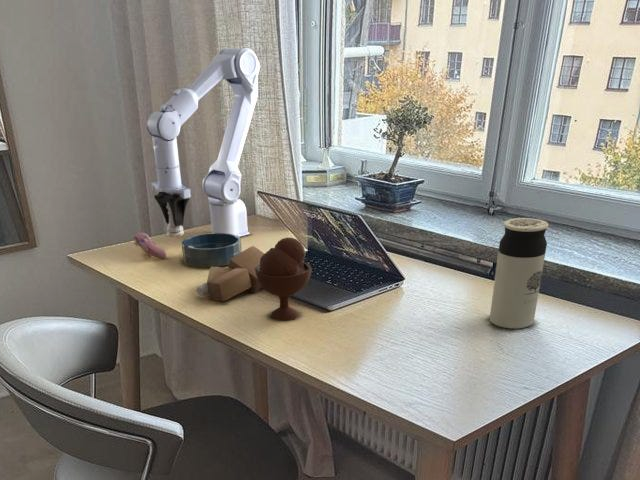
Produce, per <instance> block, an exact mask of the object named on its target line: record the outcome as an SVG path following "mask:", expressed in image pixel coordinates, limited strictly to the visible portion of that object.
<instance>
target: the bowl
mask: <svg viewBox="0 0 640 480" xmlns="http://www.w3.org/2000/svg"><path fill="white" fill-rule="evenodd" d="M181 252H182V260H183V263H185V264H186V265H189V266H192V267H198V268H210V267H224V266H229V261H230V259H231V258H232V257H234V256H236V255H238V254H239V253H241V252H243V249H242V238H241V237H239V236H237V235H234V234H228V233H212V232H209V233H200V234H196V235H191V236H188V237H186V238H184V239H182V241H181Z"/></svg>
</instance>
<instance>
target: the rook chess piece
mask: <svg viewBox="0 0 640 480" xmlns="http://www.w3.org/2000/svg"><path fill="white" fill-rule="evenodd" d="M166 208H167V209H168V214H169V224H167V228H166V231H167V233H166V234H167V235H168V237H171V238H178V237H182V236H184V234H185V231H184V226H183V225H180V226H175V224H174V221H173V216H172V211H171V208H170V206H169V204H168V203H167V206H166Z"/></svg>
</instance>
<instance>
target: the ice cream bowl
mask: <svg viewBox="0 0 640 480" xmlns="http://www.w3.org/2000/svg"><path fill="white" fill-rule="evenodd" d="M305 258H306V251H305V247H304V245H303V244H302V242H301V241H299V240H298V239H296V238H293V237H284V238H281V239H280V240H278V241H277V242H276V244H275V245H274V247H270V248H269V250H267V251H266V252H265V253H264V255H263V256H262V257H261V259H260V265H258V266H257V267H255V272H256V276H257V278H258V281H259V283H260V285H261V286H262V287H263V288H262V289H264V291H266V292H267V293H269V294H271V295H273V296H276V297H278V299H279V306H278V307H277V308H276V309H274V310H273V311H271V313H270V317H271V319H273V320H277V321H291V320H295V319H296V318H297V317H299V313H298V311H297V309H295V308H293V307H291V306H290V303H289V302H290V301H289V299H290V297H291V296H293V295H295V294H297V293H298V292H299V291H300V290H302V289H303V288H304V287H305V286H306V285H307V284H308V282H309V280H310V278H311V275H312V270H313V268H312V266H311V264H310V263H309V262H306V261H304V260H305Z"/></svg>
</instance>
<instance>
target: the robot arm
mask: <svg viewBox="0 0 640 480" xmlns="http://www.w3.org/2000/svg"><path fill="white" fill-rule="evenodd" d="M260 70H261V64H260V61H259V59H258V57H257V55H256V53H255V52H254V50H253V49H252V48H248V47H245V48H244V47H243V48H230V47H224V48H222V49H221V50H220V51H218V53H217V54H216V55H214V56H213V57H212V59H211V61H210V63H209V64H208V65H207V67H205V68H204V69H203V71H202V72H201V73H200V74H199V75H198V77H197V78H196V79H195V80H194V81H193V82H192V84H191V85H190V86H189V87H188V88H185V87H181V88H179V89H175V90H174V91H173V92H172V94H173V96H171V97H170V99H169V100H168V101H167V102H166V103H165V104H161V105H160V110H159V111H154V112H152V113H151V114H149V116H148V120H147V124H146V125H145V129H146V131H147V133H148V135H149V136H150V137H151V139H152V145H153V152H154V153H153V155H154V160H155V161H154V162H155V169H156V177H157V181H154V182H151V183H150V185H151V191H152V192H158V194H155V195H154V196H153V198H154V200H155V201H156V202H157V204H158V205H159V207H160V208H159V209H160V210H161V212H162V215H163V217H164V220H165V223H166V224H167V225H169V214H168V209H167V208H166V206H167V203H168V204H169V206H170V208H171V211H172V216H173V221H174V224H175V226H180V225H181V226H183V225H184V220H185V213H186V208H187V205H188V202H189V200H190V198H191V197H192V194H191V188H188V187H186V186H185V185H183V184H182V176H181V175H182V174H181V167H180V158H179V150H178V141H177V137H178V136H179V135H180V133H181V127H182V126H183V125H184V123H185V122H187V120H189V118H191V116H193V114H194V113H195V112H196V111H197V110H198V108H199V101H200V100H201V99H202V98H203V97H205V95H206V94H207V93H208V92H209V91H211V90H212V89H213V88H214V87H215V86H216V85H217V84H219V83H220V81H223V80H225V81H226V83H227V84H228V85H229V86H230V87H231V90H232V92H233V94H234V98H233V102H232V105H231V110H230V113H229V116H228V119H227V124H226V127H225V130H224V135H223V138H222V142H221V145H220V149H219V153H218V156H217V159H216V160H215V161H214V162H213V163H212V164H211V165H210V166H209V170H208V173H207V174H206V175H205V176H204V178H203V180H202V190H203V193H204V194H205V196H206V197H207V201H208V207H209V218H210V227H211V228H210V229H211V233H228V234H234V235H237V236H239V237H240V238H241V237H244V236H247V235H250V231H249V230H248V213H247V208H246V204H245V203H244V201H243V200H242V199H240V195H241V192H242V191H241V188H242V187H241V181H242V178H243V175H242V173H241V171H240V169H239V164H240V160H241V157H242V153H243V150H244V146H245V143H246V139H247V135H248V132H249V130H250V129H249V128H250V126H251V122H252V119H253V114H254V111H255V107H256V104H257V100H258V97H259V78H258V77H259V73H260Z"/></svg>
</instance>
